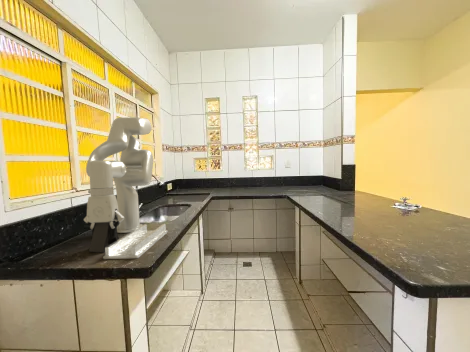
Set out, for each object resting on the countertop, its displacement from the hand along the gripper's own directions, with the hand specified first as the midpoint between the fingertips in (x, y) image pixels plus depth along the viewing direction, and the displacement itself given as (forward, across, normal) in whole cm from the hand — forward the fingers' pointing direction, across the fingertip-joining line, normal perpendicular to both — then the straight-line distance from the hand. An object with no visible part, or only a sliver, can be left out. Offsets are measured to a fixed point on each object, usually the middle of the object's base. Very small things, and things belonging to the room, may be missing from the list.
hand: (105, 237), depth 79 cm
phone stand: (+4, 0, 0) cm, 4 cm away
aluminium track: (+4, +12, +4) cm, 13 cm away
